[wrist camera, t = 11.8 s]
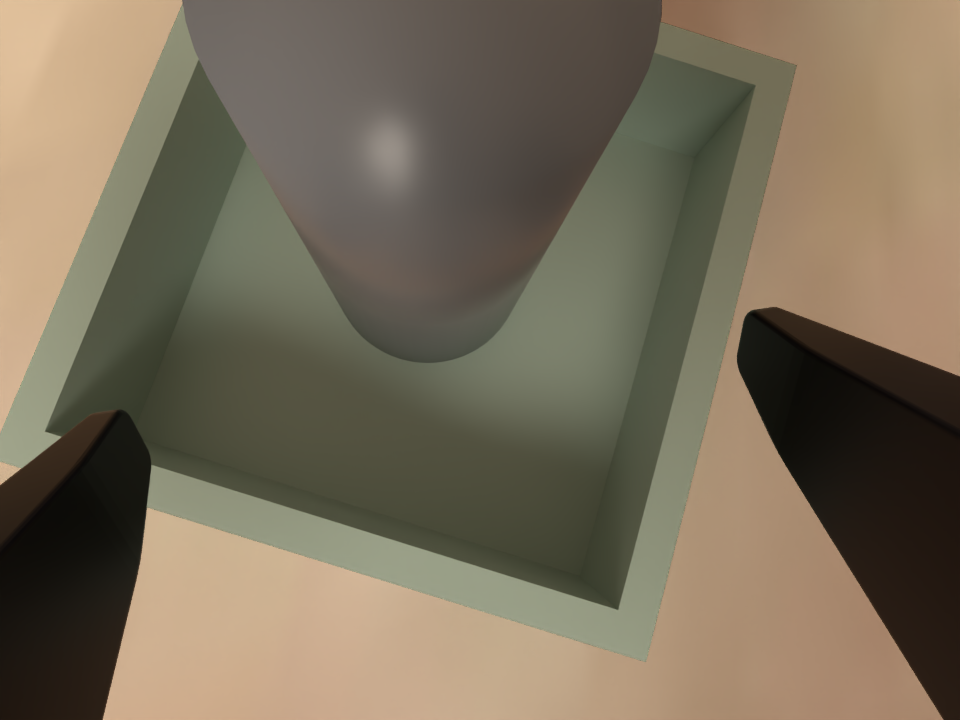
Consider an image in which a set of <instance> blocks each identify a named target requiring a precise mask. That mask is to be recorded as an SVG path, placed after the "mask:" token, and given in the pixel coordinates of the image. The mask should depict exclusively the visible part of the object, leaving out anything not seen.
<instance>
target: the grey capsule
mask: <svg viewBox="0 0 960 720" xmlns="http://www.w3.org/2000/svg"><path fill="white" fill-rule="evenodd" d="M182 2H183V8H184V14H185V21H186V24H187V28H188V31H189V34H190V37H191V40H192V44H193V47H194V50H195V52H196V54H197V56H198V58H199V61H200V63H201V65H202V67H203V69H204V71H205V73H206V75H207V77H208V79H209V81H210V83H211V84H212V86H213V88H214V90H215V91H216V93H217V95H218V96H219V98H220V100H221V102H222V103H223V105H224V107H225V109H226V110H227V112H228V114H229V115H230V117H231V119H232V121H233V122H234V124H235V126H236V128H237V129H238V131H239V133H240V134H241V136H242V138H243V140H244V141H245V143H246V145H247V147H248V148H249V150H250V152H251V153H252V155H253V157H254V159H255V160H256V162H257V164H258V165H259V167H260V169H261V171H262V172H263V174H264V176H265V178H266V179H267V181H268V183H269V184H270V186H271V188H272V190H273V191H274V193H275V195H276V197H277V198H278V200H279V202H280V203H281V205H282V207H283V209H284V210H285V212H286V214H287V216H288V217H289V219H290V221H291V222H292V224H293V226H294V228H295V229H296V231H297V233H298V235H299V236H300V238H301V240H302V241H303V243H304V245H305V247H306V248H307V250H308V252H309V254H310V255H311V257H312V259H313V260H314V262H315V264H316V266H317V267H318V269H319V271H320V272H321V274H322V276H323V278H324V279H325V281H326V283H327V285H328V286H329V288H330V290H331V291H332V293H333V295H334V297H335V298H336V300H337V302H338V304H339V305H340V307H341V309H342V310H343V312H344V314H345V316H346V317H347V319H348V320H349V322H350V323H351V325H352V326H353V327H354V328H355V330H356V331H357V332H358V333H359V334H360V335H361V336H362V337H363V338H364V339H365V340H366V341H368V342H369V343H370V344H371V345H373V346H374V347H376V348H377V349H379V350H381V351H383V352H385V353H387V354H389V355H391V356H393V357H396V358H399V359H402V360H407V361H412V362H420V363H436V362H444V361H449V360H453V359H456V358H459V357H462V356H465V355H467V354H469V353H471V352H473V351H475V350H477V349H478V348H480V347H481V346H483V345H484V344H485V343H487V342H488V341H489V340H490V339H491V338H492V337H494V335H495V334H496V333H497V332H498V331H499V330H500V329H501V328H502V326H503V325H504V323H505V322H506V320H507V319H508V317H509V315H510V314H511V312H512V310H513V308H514V307H515V305H516V303H517V301H518V300H519V298H520V296H521V294H522V293H523V291H524V289H525V287H526V286H527V284H528V282H529V281H530V279H531V277H532V275H533V274H534V272H535V270H536V268H537V267H538V265H539V263H540V261H541V260H542V258H543V256H544V254H545V253H546V251H547V249H548V247H549V246H550V244H551V242H552V241H553V239H554V237H555V235H556V234H557V232H558V230H559V228H560V227H561V225H562V223H563V221H564V220H565V218H566V216H567V214H568V213H569V211H570V209H571V208H572V206H573V204H574V202H575V201H576V199H577V197H578V195H579V194H580V192H581V190H582V188H583V187H584V185H585V183H586V181H587V180H588V178H589V176H590V175H591V173H592V171H593V169H594V168H595V166H596V164H597V162H598V161H599V159H600V157H601V155H602V154H603V152H604V150H605V148H606V147H607V145H608V143H609V142H610V140H611V138H612V136H613V135H614V133H615V131H616V129H617V128H618V126H619V124H620V122H621V121H622V119H623V117H624V115H625V114H626V112H627V110H628V108H629V107H630V105H631V103H632V102H633V100H634V98H635V96H636V95H637V92H638V90H639V88H640V86H641V84H642V82H643V80H644V78H645V76H646V74H647V72H648V70H649V67H650V64H651V60H652V57H653V54H654V51H655V48H656V45H657V40H658V34H659V28H660V22H661V15H662V0H182Z"/></svg>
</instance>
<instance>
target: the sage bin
mask: <svg viewBox="0 0 960 720" xmlns="http://www.w3.org/2000/svg"><path fill="white" fill-rule="evenodd" d="M796 66H797V65H794V64H791V63H788V62H785V61H782V60H778V59H775V58H772V57H769V56H766V55H763V54H760V53H757V52H754V51H750V50H747V49H744V48H741V47H738V46H735V45H732V44H729V43H725V42H722V41H719V40H716V39H713V38H710V37H707V36H704V35H700V34H697V33H694V32H691V31H688V30H685V29H682V28H679V27H676V26H672V25H669V24H666V23H663V22H660V28H659V34H658V40H657V45H656V48H655V51H654V54H653V57H652V60H651V64H650V67H649V70H648V72H647V74H646V76H645V78H644V80H643V82H642V84H641V86H640V88H639V90H638V92H637V95H636V96H635V98H634V100H633V102H632V103H631V105H630V107H629V108H628V110H627V112H626V114H625V115H624V117H623V119H622V121H621V122H620V124H619V126H618V128H617V129H616V131H615V133H614V135H613V136H612V138H611V140H610V142H609V143H608V145H607V147H606V148H605V150H604V152H603V154H602V155H601V157H600V159H599V161H598V162H597V164H596V166H595V168H594V169H593V171H592V173H591V175H590V176H589V178H588V180H587V181H586V183H585V185H584V187H583V188H582V190H581V192H580V194H579V195H578V197H577V199H576V201H575V202H574V204H573V206H572V208H571V209H570V211H569V213H568V214H567V216H566V218H565V220H564V221H563V223H562V225H561V227H560V228H559V230H558V232H557V234H556V235H555V237H554V239H553V241H552V242H551V244H550V246H549V247H548V249H547V251H546V253H545V254H544V256H543V258H542V260H541V261H540V263H539V265H538V267H537V268H536V270H535V272H534V274H533V275H532V277H531V279H530V281H529V282H528V284H527V286H526V287H525V289H524V291H523V293H522V294H521V296H520V298H519V300H518V301H517V303H516V305H515V307H514V308H513V310H512V312H511V314H510V315H509V317H508V319H507V320H506V322H505V323H504V325H503V326H502V328H501V329H500V330H499V331H498V332H497V333H496V334H495V335H494V337H492V338H491V339H490V340H489V341H488V342H487V343H485V344H484V345H483V346H481V347H480V348H478V349H477V350H475V351H473V352H471V353H469V354H467V355H465V356H462V357H459V358H456V359H453V360H449V361H444V362H436V363H420V362H412V361H407V360H402V359H399V358H396V357H393V356H391V355H389V354H387V353H385V352H383V351H381V350H379V349H377V348H376V347H374V346H373V345H371V344H370V343H369V342H368V341H366V340H365V339H364V338H363V337H362V336H361V335H360V334H359V333H358V332H357V331H356V330H355V328H354V327H353V326H352V325H351V323H350V322H349V320H348V319H347V317H346V316H345V314H344V312H343V310H342V309H341V307H340V305H339V304H338V302H337V300H336V298H335V297H334V295H333V293H332V291H331V290H330V288H329V286H328V285H327V283H326V281H325V279H324V278H323V276H322V274H321V272H320V271H319V269H318V267H317V266H316V264H315V262H314V260H313V259H312V257H311V255H310V254H309V252H308V250H307V248H306V247H305V245H304V243H303V241H302V240H301V238H300V236H299V235H298V233H297V231H296V229H295V228H294V226H293V224H292V222H291V221H290V219H289V217H288V216H287V214H286V212H285V210H284V209H283V207H282V205H281V203H280V202H279V200H278V198H277V197H276V195H275V193H274V191H273V190H272V188H271V186H270V184H269V183H268V181H267V179H266V178H265V176H264V174H263V172H262V171H261V169H260V167H259V165H258V164H257V162H256V160H255V159H254V157H253V155H252V153H251V152H250V150H249V148H248V147H247V145H246V143H245V141H244V140H243V138H242V136H241V134H240V133H239V131H238V129H237V128H236V126H235V124H234V122H233V121H232V119H231V117H230V115H229V114H228V112H227V110H226V109H225V107H224V105H223V103H222V102H221V100H220V98H219V96H218V95H217V93H216V91H215V90H214V88H213V86H212V84H211V83H210V81H209V79H208V77H207V75H206V73H205V71H204V69H203V67H202V65H201V63H200V61H199V58H198V56H197V54H196V52H195V50H194V47H193V44H192V40H191V37H190V34H189V31H188V28H187V24H186V21H185V14H184V8H183V4H182V6H181V8H180V11H179V13H178V16H177V18H176V20H175V23H174V25H173V27H172V30H171V32H170V34H169V37H168V39H167V41H166V44H165V46H164V49H163V51H162V53H161V56H160V58H159V60H158V63H157V65H156V67H155V70H154V72H153V74H152V77H151V79H150V82H149V84H148V86H147V89H146V91H145V93H144V96H143V98H142V100H141V103H140V105H139V107H138V110H137V112H136V114H135V117H134V119H133V122H132V124H131V126H130V129H129V131H128V133H127V136H126V138H125V140H124V143H123V145H122V147H121V150H120V152H119V155H118V157H117V159H116V162H115V164H114V166H113V169H112V171H111V173H110V176H109V178H108V180H107V183H106V185H105V188H104V190H103V192H102V195H101V197H100V199H99V202H98V204H97V206H96V209H95V211H94V213H93V216H92V218H91V221H90V223H89V225H88V228H87V230H86V232H85V235H84V237H83V239H82V242H81V244H80V246H79V249H78V251H77V254H76V256H75V258H74V261H73V263H72V265H71V268H70V270H69V272H68V275H67V277H66V279H65V282H64V284H63V287H62V289H61V291H60V294H59V296H58V298H57V301H56V303H55V305H54V308H53V310H52V312H51V315H50V317H49V320H48V322H47V324H46V327H45V329H44V331H43V334H42V336H41V338H40V341H39V343H38V345H37V348H36V350H35V353H34V355H33V357H32V360H31V362H30V364H29V367H28V369H27V371H26V374H25V376H24V378H23V381H22V383H21V385H20V388H19V390H18V393H17V395H16V397H15V400H14V402H13V404H12V407H11V409H10V411H9V414H8V416H7V418H6V421H5V423H4V426H3V428H2V430H1V433H0V462H3V463H6V464H9V465H12V466H16V467H19V468H23V467H24V466H25V465H27V464H28V463H29V462H30V461H32V460H33V459H34V458H35V457H37V456H38V455H39V454H41V453H42V452H43V451H44V450H46V449H47V448H48V447H49V446H51V445H52V444H53V443H55V442H56V441H57V440H58V439H60V438H61V437H62V436H63V435H65V434H66V433H67V432H69V431H70V430H71V429H72V428H74V427H75V426H76V425H77V424H79V423H80V422H81V421H83V420H84V419H85V418H86V417H88V416H89V415H90V414H93V413H96V412H102V411H109V410H115V409H122V410H124V411H126V412H127V413H128V414H129V415H130V416H131V418H132V420H133V422H134V424H135V426H136V427H137V429H138V431H139V433H140V435H141V437H142V439H143V441H144V443H145V444H146V446H147V448H148V450H149V453H150V457H151V475H150V484H149V493H148V502H147V507H148V508H151V509H154V510H157V511H161V512H164V513H167V514H170V515H173V516H177V517H180V518H183V519H186V520H190V521H193V522H196V523H199V524H202V525H206V526H209V527H212V528H215V529H218V530H222V531H225V532H228V533H231V534H235V535H238V536H241V537H244V538H247V539H251V540H254V541H257V542H260V543H264V544H267V545H270V546H273V547H276V548H280V549H283V550H286V551H289V552H293V553H296V554H299V555H302V556H305V557H309V558H312V559H315V560H318V561H321V562H325V563H328V564H331V565H334V566H338V567H341V568H344V569H347V570H350V571H354V572H357V573H360V574H363V575H367V576H370V577H373V578H376V579H379V580H383V581H386V582H389V583H392V584H396V585H399V586H402V587H405V588H408V589H412V590H415V591H418V592H421V593H425V594H428V595H431V596H434V597H437V598H441V599H444V600H447V601H450V602H453V603H457V604H460V605H463V606H466V607H470V608H473V609H476V610H479V611H482V612H486V613H489V614H492V615H495V616H499V617H502V618H505V619H508V620H511V621H515V622H518V623H521V624H524V625H528V626H531V627H534V628H537V629H540V630H544V631H547V632H550V633H553V634H556V635H560V636H563V637H566V638H569V639H573V640H576V641H579V642H582V643H585V644H589V645H592V646H595V647H598V648H602V649H605V650H608V651H611V652H614V653H618V654H621V655H624V656H627V657H631V658H634V659H637V660H640V661H643V662H646V660H647V656H648V652H649V648H650V644H651V640H652V636H653V632H654V628H655V624H656V620H657V616H658V613H659V609H660V605H661V601H662V597H663V593H664V589H665V585H666V581H667V577H668V573H669V569H670V565H671V561H672V557H673V553H674V549H675V545H676V541H677V537H678V533H679V529H680V525H681V522H682V518H683V514H684V510H685V506H686V502H687V498H688V494H689V490H690V486H691V482H692V478H693V474H694V470H695V466H696V462H697V458H698V454H699V450H700V446H701V442H702V438H703V434H704V430H705V427H706V423H707V419H708V415H709V411H710V407H711V403H712V399H713V395H714V391H715V387H716V383H717V379H718V375H719V371H720V367H721V363H722V359H723V355H724V351H725V347H726V343H727V339H728V335H729V332H730V328H731V324H732V320H733V316H734V312H735V308H736V304H737V300H738V296H739V292H740V288H741V284H742V280H743V276H744V272H745V268H746V264H747V260H748V256H749V252H750V248H751V244H752V240H753V237H754V233H755V229H756V225H757V221H758V217H759V213H760V209H761V205H762V201H763V197H764V193H765V189H766V185H767V181H768V177H769V173H770V169H771V165H772V161H773V157H774V153H775V149H776V145H777V142H778V138H779V134H780V130H781V126H782V122H783V118H784V114H785V110H786V106H787V102H788V98H789V94H790V90H791V86H792V82H793V78H794V74H795V70H796Z"/></svg>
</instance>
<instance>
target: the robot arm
mask: <svg viewBox="0 0 960 720" xmlns="http://www.w3.org/2000/svg"><path fill="white" fill-rule="evenodd" d="M737 364H738V368H739V371H740V374H741V376H742V378H743V380H744V382H745V384H746V387H747V389H748V391H749V393H750V395H751V397H752V399H753V401H754V404H755V406H756V408H757V410H758V412H759V414H760V416H761V418H762V421H763V423H764V425H765V427H766V429H767V431H768V433H769V436H770V438H771V440H772V442H773V444H774V446H775V448H776V449H777V451H778V453H779V455H780V457H781V458H782V460H783V462H784V463H785V465H786V467H787V468H788V470H789V472H790V473H791V475H792V476H793V478H794V480H795V481H796V483H797V484H798V486H799V488H800V489H801V491H802V493H803V494H804V496H805V497H806V499H807V501H808V502H809V504H810V505H811V507H812V509H813V510H814V512H815V514H816V515H817V517H818V518H819V520H820V522H821V523H822V525H823V526H824V528H825V530H826V531H827V533H828V534H829V536H830V538H831V539H832V541H833V543H834V544H835V546H836V547H837V549H838V551H839V552H840V554H841V555H842V557H843V559H844V560H845V562H846V564H847V565H848V567H849V568H850V570H851V572H852V573H853V575H854V576H855V578H856V580H857V581H858V583H859V584H860V586H861V588H862V589H863V591H864V593H865V594H866V596H867V597H868V599H869V601H870V602H871V604H872V605H873V607H874V609H875V610H876V612H877V614H878V615H879V617H880V618H881V620H882V622H883V623H884V625H885V626H886V628H887V630H888V631H889V633H890V634H891V636H892V638H893V639H894V641H895V643H896V644H897V646H898V647H899V649H900V651H901V652H902V654H903V655H904V657H905V659H906V660H907V662H908V663H909V665H910V667H911V668H912V670H913V672H914V673H915V675H916V676H917V678H918V680H919V681H920V683H921V684H922V686H923V688H924V689H925V691H926V693H927V694H928V696H929V697H930V699H931V701H932V702H933V704H934V705H935V707H936V709H937V710H938V712H939V713H940V715H941V717H942V718H943V720H960V376H957V375H955V374H952V373H949V372H947V371H944V370H941V369H939V368H936V367H934V366H931V365H928V364H926V363H923V362H920V361H918V360H915V359H912V358H910V357H907V356H905V355H902V354H899V353H897V352H894V351H891V350H889V349H886V348H883V347H881V346H878V345H876V344H873V343H870V342H868V341H865V340H862V339H860V338H857V337H854V336H852V335H849V334H846V333H844V332H841V331H839V330H836V329H833V328H831V327H828V326H825V325H823V324H820V323H817V322H815V321H812V320H810V319H807V318H804V317H802V316H799V315H796V314H794V313H791V312H788V311H786V310H783V309H780V308H777V307H770V308H763V309H757V310H752V311H750V312H748V313H747V315H746V316H745V319H744V322H743V327H742V332H741V338H740V343H739V348H738V353H737ZM150 475H151V457H150V453H149V450H148V448H147V446H146V444H145V443H144V441H143V439H142V437H141V435H140V433H139V431H138V429H137V427H136V426H135V424H134V422H133V420H132V418H131V416H130V415H129V414H128V413H127V412H126V411H124V410H122V409H115V410H109V411H102V412H96V413H93V414H90V415H89V416H88V417H86V418H85V419H84V420H83V421H81V422H80V423H79V424H77V425H76V426H75V427H74V428H72V429H71V430H70V431H69V432H67V433H66V434H65V435H63V436H62V437H61V438H60V439H58V440H57V441H56V442H55V443H53V444H52V445H51V446H49V447H48V448H47V449H46V450H44V451H43V452H42V453H41V454H39V455H38V456H37V457H35V458H34V459H33V460H32V461H30V462H29V463H28V464H27V465H25V466H24V467H23V468H21V469H20V470H19V471H18V472H16V473H15V474H14V475H13V476H11V477H10V478H9V479H7V480H6V481H5V482H4V483H2V484H1V485H0V720H103V716H104V712H105V708H106V704H107V699H108V695H109V691H110V687H111V683H112V679H113V675H114V670H115V666H116V662H117V658H118V654H119V650H120V646H121V641H122V637H123V633H124V629H125V625H126V621H127V617H128V612H129V608H130V604H131V600H132V596H133V592H134V588H135V583H136V579H137V575H138V570H139V565H140V559H141V553H142V546H143V537H144V528H145V519H146V510H147V502H148V493H149V484H150Z"/></svg>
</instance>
